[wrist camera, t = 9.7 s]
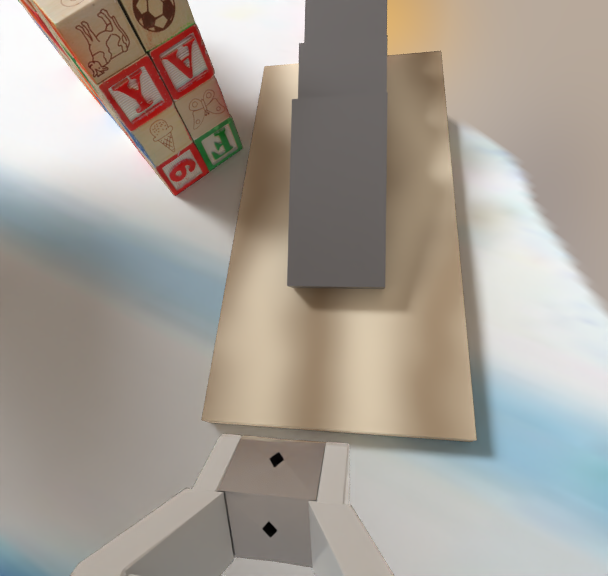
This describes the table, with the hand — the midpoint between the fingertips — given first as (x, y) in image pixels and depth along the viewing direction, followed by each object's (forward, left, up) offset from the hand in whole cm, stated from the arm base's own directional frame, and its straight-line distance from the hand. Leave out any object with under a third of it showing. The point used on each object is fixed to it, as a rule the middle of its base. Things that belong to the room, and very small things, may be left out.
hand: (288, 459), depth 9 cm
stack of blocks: (-17, +26, -11) cm, 33 cm away
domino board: (0, +15, -11) cm, 18 cm away
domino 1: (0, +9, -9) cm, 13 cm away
